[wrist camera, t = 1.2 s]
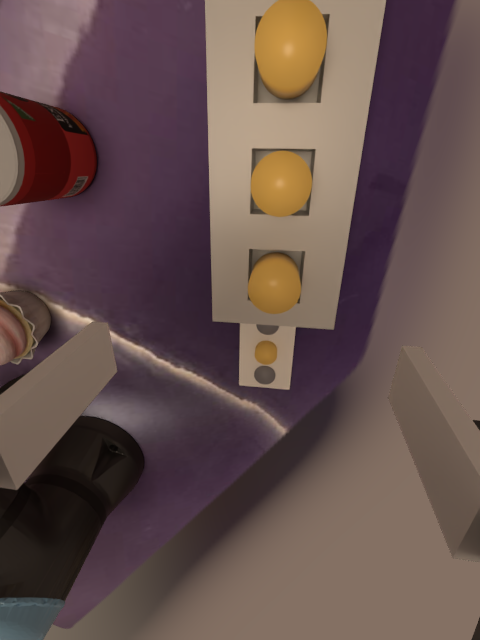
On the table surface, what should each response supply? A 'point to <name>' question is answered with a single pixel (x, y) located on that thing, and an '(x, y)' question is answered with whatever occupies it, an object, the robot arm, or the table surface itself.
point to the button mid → (281, 183)
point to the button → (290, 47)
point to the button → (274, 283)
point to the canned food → (42, 152)
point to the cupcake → (21, 325)
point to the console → (285, 135)
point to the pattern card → (266, 355)
